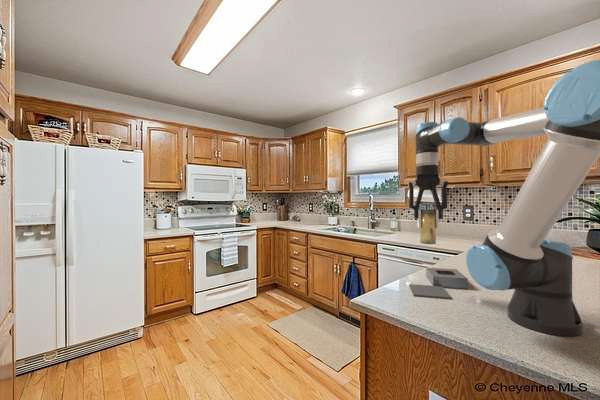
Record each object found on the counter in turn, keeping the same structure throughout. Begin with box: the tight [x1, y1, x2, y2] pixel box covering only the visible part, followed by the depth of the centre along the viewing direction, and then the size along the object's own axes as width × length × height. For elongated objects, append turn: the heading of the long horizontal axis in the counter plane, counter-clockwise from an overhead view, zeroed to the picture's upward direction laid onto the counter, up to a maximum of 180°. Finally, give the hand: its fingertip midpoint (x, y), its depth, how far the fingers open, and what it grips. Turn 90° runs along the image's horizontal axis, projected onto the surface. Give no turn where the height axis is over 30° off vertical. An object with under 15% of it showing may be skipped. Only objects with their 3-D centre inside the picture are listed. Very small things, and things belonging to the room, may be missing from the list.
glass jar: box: [419, 208, 437, 245], centre depth 97 cm, size 5×5×12 cm
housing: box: [425, 267, 469, 290], centre depth 108 cm, size 14×12×4 cm
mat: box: [408, 283, 452, 300], centre depth 97 cm, size 12×12×1 cm
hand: (427, 227), depth 97 cm, fingers closed on glass jar, 5 cm apart
